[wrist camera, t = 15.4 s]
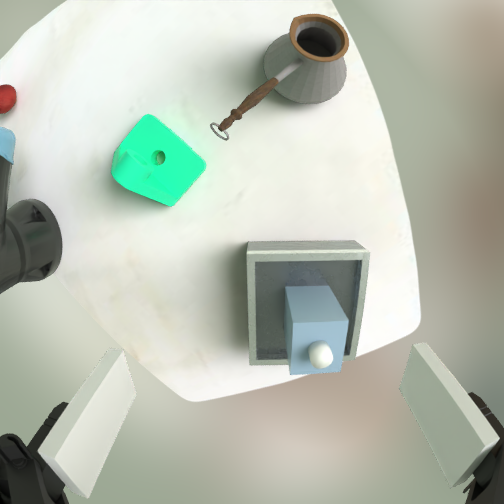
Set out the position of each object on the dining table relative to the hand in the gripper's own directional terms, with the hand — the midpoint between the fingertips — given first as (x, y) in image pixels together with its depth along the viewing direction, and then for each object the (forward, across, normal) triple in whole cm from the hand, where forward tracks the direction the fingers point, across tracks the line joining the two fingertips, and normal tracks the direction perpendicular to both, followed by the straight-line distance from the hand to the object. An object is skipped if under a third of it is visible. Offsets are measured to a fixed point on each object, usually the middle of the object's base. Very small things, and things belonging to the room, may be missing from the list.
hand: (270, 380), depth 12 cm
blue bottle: (+27, +6, -10) cm, 29 cm away
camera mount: (+32, -14, +11) cm, 37 cm away
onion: (+32, -47, +28) cm, 63 cm away
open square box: (+32, +6, -10) cm, 34 cm away
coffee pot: (+32, +3, +20) cm, 38 cm away
